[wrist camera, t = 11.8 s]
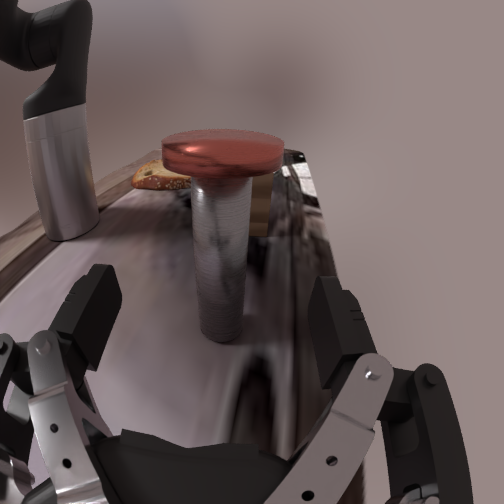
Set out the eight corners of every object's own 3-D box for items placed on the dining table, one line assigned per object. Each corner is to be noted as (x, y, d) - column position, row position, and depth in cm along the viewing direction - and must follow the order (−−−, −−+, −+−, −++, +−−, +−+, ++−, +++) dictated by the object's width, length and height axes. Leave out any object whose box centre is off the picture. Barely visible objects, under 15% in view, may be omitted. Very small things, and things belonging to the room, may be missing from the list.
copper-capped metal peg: (262, 359, 19) (292, 156, 11) (176, 354, 19) (143, 152, 11) (257, 253, 30) (269, 119, 22) (200, 250, 30) (198, 117, 22)
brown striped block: (266, 236, 34) (273, 173, 29) (194, 233, 34) (192, 169, 29) (264, 218, 38) (270, 161, 33) (200, 215, 38) (200, 158, 33)
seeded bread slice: (241, 170, 57) (242, 154, 55) (206, 201, 43) (206, 179, 41) (171, 162, 61) (170, 147, 59) (122, 189, 46) (120, 170, 44)
